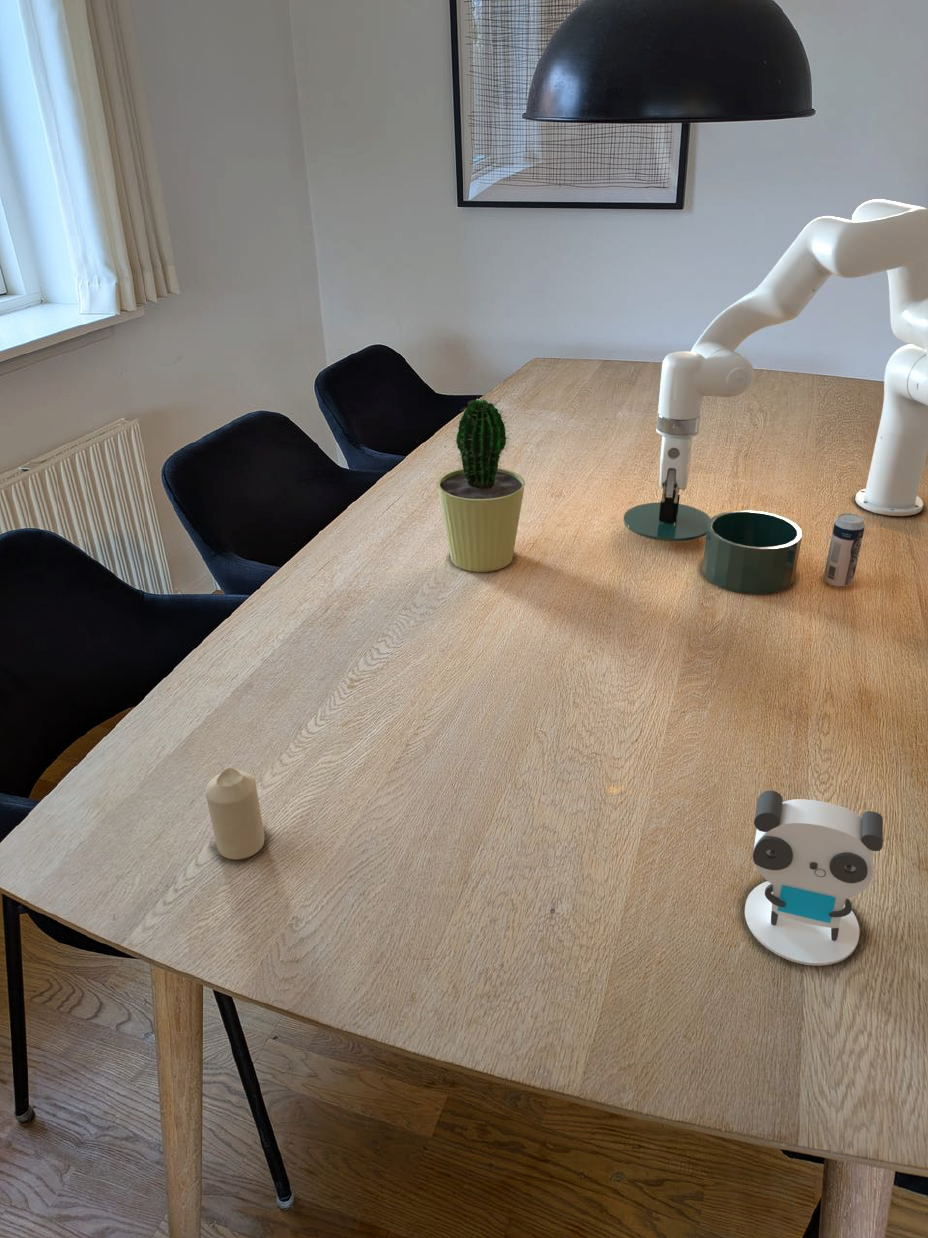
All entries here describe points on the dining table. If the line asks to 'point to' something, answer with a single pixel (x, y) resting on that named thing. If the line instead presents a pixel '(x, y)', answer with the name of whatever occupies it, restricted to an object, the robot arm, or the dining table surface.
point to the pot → (751, 552)
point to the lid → (666, 523)
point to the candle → (235, 814)
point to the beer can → (844, 550)
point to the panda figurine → (810, 877)
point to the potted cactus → (481, 494)
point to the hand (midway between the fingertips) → (668, 516)
